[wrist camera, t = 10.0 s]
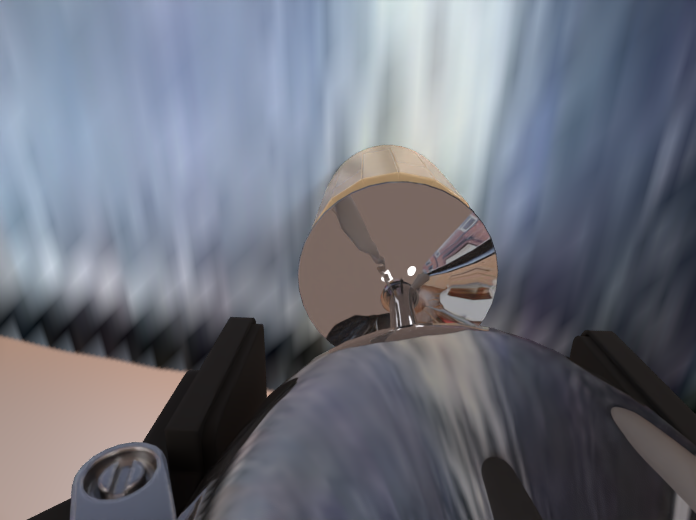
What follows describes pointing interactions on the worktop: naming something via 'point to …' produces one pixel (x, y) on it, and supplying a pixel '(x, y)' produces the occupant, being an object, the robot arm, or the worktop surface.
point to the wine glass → (436, 394)
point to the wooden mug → (383, 173)
